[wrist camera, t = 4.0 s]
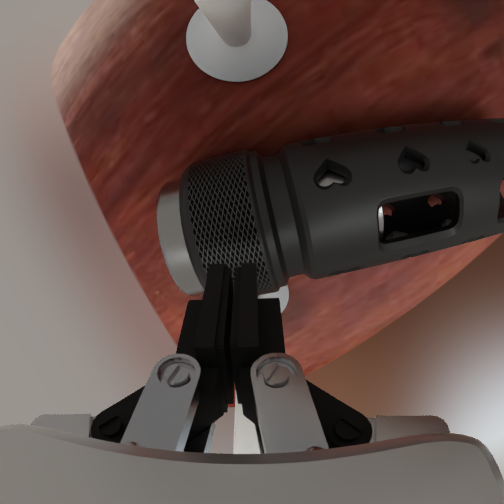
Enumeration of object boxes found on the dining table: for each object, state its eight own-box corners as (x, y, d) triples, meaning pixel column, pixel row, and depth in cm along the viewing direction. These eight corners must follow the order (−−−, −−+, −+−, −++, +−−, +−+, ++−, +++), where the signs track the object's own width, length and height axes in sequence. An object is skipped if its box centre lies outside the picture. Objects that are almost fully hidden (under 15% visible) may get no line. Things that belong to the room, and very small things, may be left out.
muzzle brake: (482, 196, 25) (546, 247, 16) (211, 254, 28) (194, 337, 20) (481, 104, 20) (561, 131, 11) (176, 154, 24) (132, 203, 15)
